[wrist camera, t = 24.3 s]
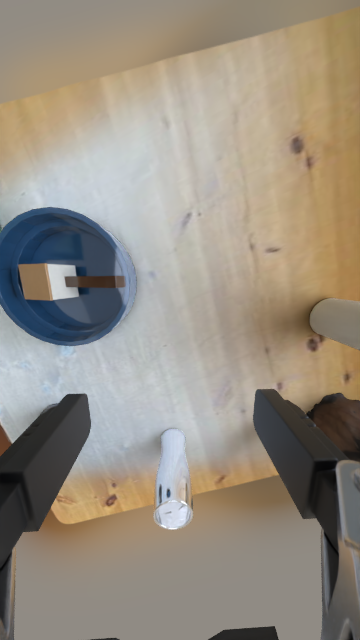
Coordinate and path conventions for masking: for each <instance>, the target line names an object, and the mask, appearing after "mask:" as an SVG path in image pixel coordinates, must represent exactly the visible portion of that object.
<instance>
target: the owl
mask: <svg viewBox="0 0 360 640" xmlns="http://www.w3.org/2000/svg"><path fill="white" fill-rule="evenodd" d="M307 416H308V418H309V419H311V420H312V421H313V422H314V423H315V424H316V427H319V428H320V429H321V430H322V431H323V433H324V434H325V435H326V436H327V437H328V438H329V439H330V440H331V441H332V442H333V443H334V444H335V445H336V446H337V447H338V448H339V449H340V450H341V451H342V452H343V453H344V454H345V455H346V456H347V457H348V458H349V459H350V460H353V461H357V462H360V401H359V400H349V399H346V398H345V397H344V396H343V394H341V393H337V394H332V395H327V396H325V397H324V398H323V399H322V401H321V402H320V404H316V405H315V406H314V408H313V409H312V410H311V412H310V411H309V412H307Z"/></svg>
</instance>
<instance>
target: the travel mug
mask: <svg viewBox="0 0 360 640" xmlns="http://www.w3.org/2000/svg"><path fill="white" fill-rule="evenodd" d="M310 325H311V328H312V329H313V330H314V331H315V332H316V333H318V334H320V335H323V336H325V337H328V338H330V339H333V340H335V341H338V342H340V343H343V344H345V345H348V346H350V347H353V348H355V349H358V350H360V302H358V301H351V300H343V299H336V298H328V299H325V300H322V301H321V302H319V303H318V304H317V305H316V306H315V307H314V308H313V310H312V312H311V314H310Z"/></svg>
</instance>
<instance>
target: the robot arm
mask: <svg viewBox="0 0 360 640" xmlns="http://www.w3.org/2000/svg"><path fill="white" fill-rule="evenodd" d="M253 422H254V427H255V430H256V432H257V434H258V436H259V438H260V440H261V442H262V443H263V445H264V447H265V449H266V451H267V453H268V455H269V456H270V458H271V460H272V462H273V464H274V466H275V468H276V470H277V471H278V473H279V475H280V477H281V479H282V481H283V483H284V484H285V486H286V488H287V490H288V492H289V494H290V495H291V497H292V499H293V501H294V503H295V505H296V506H297V509H298V510H299V512H300V514H301V516H302V518H303V519H311V518H317V520H318V522H319V523H320V525H321V527H322V530H321V566H322V567H321V568H322V632H321V640H360V462H357V461H353V460H350V459H349V458H348V457H347V456H346V455H345V454H344V453H343V452H342V451H341V450H340V449H339V448H338V447H337V446H336V445H335V444H334V443H333V442H332V441H331V440H330V439H329V438H328V437H327V436H326V435H325V434H324V433H323V431H322V430H321V429H320V428H319V427H316V424H315V423H314V422H313V421H312V420H311V419H309V418H308V416H307V415H306V414H305V413H304V412H303V411H302V410H301V409H300V408H299V407H298V406H296V405H295V404H293V403H291V402H290V401H288V400H284V399H283V398H282V397H281V396H280V395H279V393H278V392H277V391H276V390H274V389H258V390H257V391H256V394H255V403H254V414H253ZM90 428H91V419H90V412H89V404H88V397H87V395H86V394H67V395H66V396H65V397H64V398H63V399H62V400H61V401H60V403H59V404H54V405H51V406H49V407H47V408H46V409H45V410H44V411H43V412H42V413H41V414H40V416H39V417H38V418H37V419H36V420H35V421H34V422H33V423H32V424H31V425H30V426H29V427H28V428H27V429H26V430H25V431H24V432H23V433H22V434H21V435H20V437H19V438H18V439H17V440H16V441H15V442H14V443H13V444H12V445H11V446H10V447H9V448H8V449H7V450H6V451H5V452H4V453H3V454H2V455H1V456H0V640H14V608H15V607H14V606H15V567H16V565H15V564H16V549H15V545H16V543H17V541H18V540H19V538H20V536H21V534H22V533H23V532H30V531H31V532H32V531H38V530H39V529H40V527H41V525H42V522H43V521H44V519H45V517H46V515H47V513H48V512H49V510H50V508H51V506H52V504H53V502H54V500H55V498H56V496H57V495H58V493H59V491H60V489H61V487H62V485H63V483H64V481H65V479H66V478H67V476H68V474H69V472H70V470H71V468H72V466H73V464H74V462H75V461H76V459H77V457H78V455H79V453H80V451H81V449H82V447H83V445H84V444H85V442H86V440H87V438H88V436H89V433H90ZM92 640H119V639H117V638H106V639H92ZM208 640H279V639H278V636H277V632H276V629H275V626H272V627H258V628H244V629H230V630H223V631H222V632H220V633H218V634H217V635H215V636H213V637H212V638H210V639H208Z"/></svg>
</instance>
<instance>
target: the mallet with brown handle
mask: <svg viewBox="0 0 360 640" xmlns="http://www.w3.org/2000/svg"><path fill="white" fill-rule="evenodd" d="M18 267H19V272H20V277H21V282H22V287H23V292H24V298H25V299H28V300H48V301H52V300H57V299H65V298H73V297H79V293H78V287H81V288H123V287H126V283H125V276H76V270H75V265H58V264H47V263H41V264H18Z"/></svg>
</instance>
